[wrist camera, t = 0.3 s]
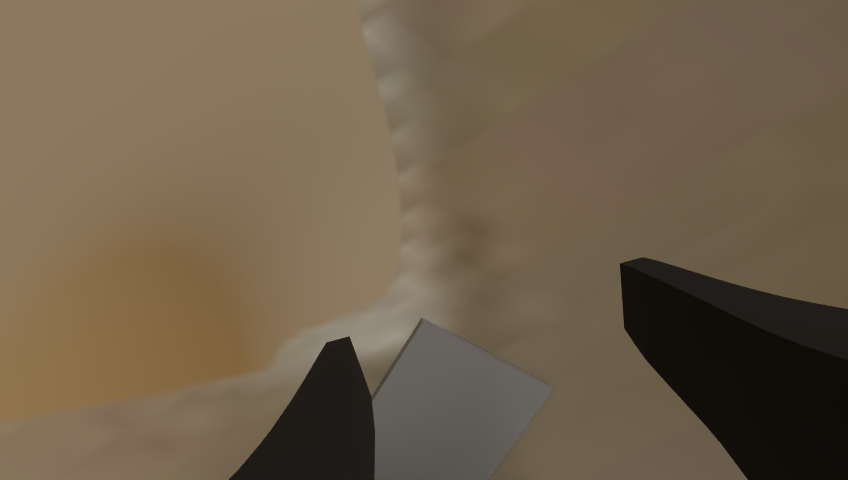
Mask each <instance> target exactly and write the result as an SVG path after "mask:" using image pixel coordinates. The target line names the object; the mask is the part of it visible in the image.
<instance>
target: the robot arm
mask: <svg viewBox="0 0 848 480" xmlns="http://www.w3.org/2000/svg"><path fill="white" fill-rule="evenodd" d="M620 272H621V286H622V301H623V316H624V328H625V330H626V331H627V333H628V334H629V336H630V337H631V339H632V341H633V342H634V344H635V345H636V346H637V348H638V349H639V351H640V352H641V354H642V355H643V356H644V358H645V359H646V360H647V361H648V363H649V364H650V365H651V366H652V367H653V368H654V369H655V370H656V372H657V373H658V374H659V375H660V376H661V377H662V378H663V379H664V380H665V382H666V383H667V384H668V385H669V386H670V387H671V388H672V389H673V390H674V391H675V393H676V394H677V395H678V396H679V397H680V398H681V399H682V400H683V401H684V402H685V403H686V405H687V406H688V407H689V408H690V409H691V410H692V411H693V412H694V413H695V414H696V415H697V417H698V418H699V419H700V420H701V421H702V422H703V423H704V424H705V425H706V426H707V428H708V429H709V430H710V431H711V432H712V433H713V435H714V436H715V437H716V438H717V439H718V441H719V442H720V443H721V444H722V446H723V447H724V448H725V450H726V451H727V452H728V454H729V455H730V456H731V458H732V459H733V460H734V462H735V463H736V464H737V466H738V467H739V468H740V470H741V471H742V472H743V474H744V475H745V476H746V478H747V479H748V480H848V309H844V308H838V307H832V306H827V305H821V304H816V303H811V302H806V301H801V300H796V299H791V298H786V297H782V296H778V295H773V294H770V293H766V292H762V291H758V290H754V289H750V288H746V287H742V286H739V285H735V284H732V283H728V282H725V281H722V280H718V279H715V278H712V277H708V276H705V275H702V274H699V273H695V272H692V271H689V270H686V269H683V268H679V267H676V266H673V265H670V264H666V263H663V262H659V261H656V260H652V259H648V258H643V257H642V258H638V259H635V260H631V261H627V262H624V263H620ZM374 474H375V426H374V415H373V406H372V397H371V394H370V392H369V389H368V386H367V383H366V381H365V378H364V375H363V372H362V370H361V367H360V364H359V361H358V359H357V356H356V353H355V350H354V347H353V345H352V342H351V339H350V336H349V337H345V338H342V339H338V340H334V341H331V342H327V343H326V344H325V346H324V347H323V349H322V351H321V352H320V354H319V356H318V357H317V359H316V361H315V362H314V364H313V366H312V368H311V369H310V371H309V373H308V374H307V376H306V378H305V379H304V381H303V383H302V384H301V386H300V387H299V389H298V391H297V392H296V394H295V395H294V397H293V399H292V400H291V402H290V403H289V405H288V406H287V408H286V409H285V411H284V412H283V413H282V415H281V416H280V418H279V419H278V421H277V422H276V424H275V425H274V426H273V428H272V429H271V431H270V432H269V433H268V435H267V436H266V437H265V438H264V440H263V441H262V442H261V444H260V445H259V446H258V447H257V448H256V450H255V451H254V452H253V453H252V454H251V456H250V457H249V458H248V459H247V460H246V462H245V463H244V464H243V465H242V466H241V467H240V468H239V470H238V471H237V472H236V473H235V474H234V475H233V476H232V477H231V478H230V479H229V480H374Z"/></svg>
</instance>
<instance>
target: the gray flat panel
mask: <svg viewBox="0 0 848 480" xmlns="http://www.w3.org/2000/svg"><path fill="white" fill-rule="evenodd" d="M552 391H553V389H552V388H551V386H550V385H549V384H547V383H545V382H543V381H541V380H539V379H537V378H535V377H533V376H532V375H530V374H528V373H526V372H524V371H522V370H520V369H518V368H516V367H514V366H512V365H511V364H509V363H507V362H505V361H503V360H501V359H499V358H497V357H495V356H493V355H491V354H490V353H488V352H486V351H484V350H482V349H480V348H478V347H476V346H474V345H472V344H470V343H468V342H467V341H465V340H463V339H461V338H459V337H457V336H455V335H453V334H451V333H449V332H447V331H446V330H444V329H442V328H440V327H438V326H436V325H434V324H432V323H430V322H428V321H426V320H425V319H423V318H421V320H420V322H419V323H418V325H417V326H416V328H415V329H414V331H413V333H412V334H411V336H410V337H409V339H408V341H407V342H406V344H405V345H404V347H403V348H402V350H401V352H400V353H399V355H398V356H397V358H396V360H395V361H394V363H393V364H392V366H391V367H390V369H389V371H388V372H387V374H386V375H385V377H384V379H383V380H382V382H381V383H380V385H379V386H378V388H377V390H376V391H375V393H374V394H373V396H372V406H373V415H374V426H375V474H374V479H375V480H490V478H491V477H492V475H493V474H494V473H495V471H496V470H497V468H498V467H499V466H500V464H501V463H502V461H503V460H504V459H505V457H506V456H507V454H508V453H509V452H510V450H511V449H512V447H513V446H514V445H515V443H516V442H517V440H518V439H519V438H520V436H521V435H522V433H523V432H524V431H525V429H526V428H527V426H528V425H529V424H530V422H531V421H532V419H533V418H534V417H535V415H536V414H537V412H538V411H539V410H540V408H541V407H542V405H543V404H544V403H545V401H546V400H547V398H548V397H549V396H550V394H551V393H552Z"/></svg>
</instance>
